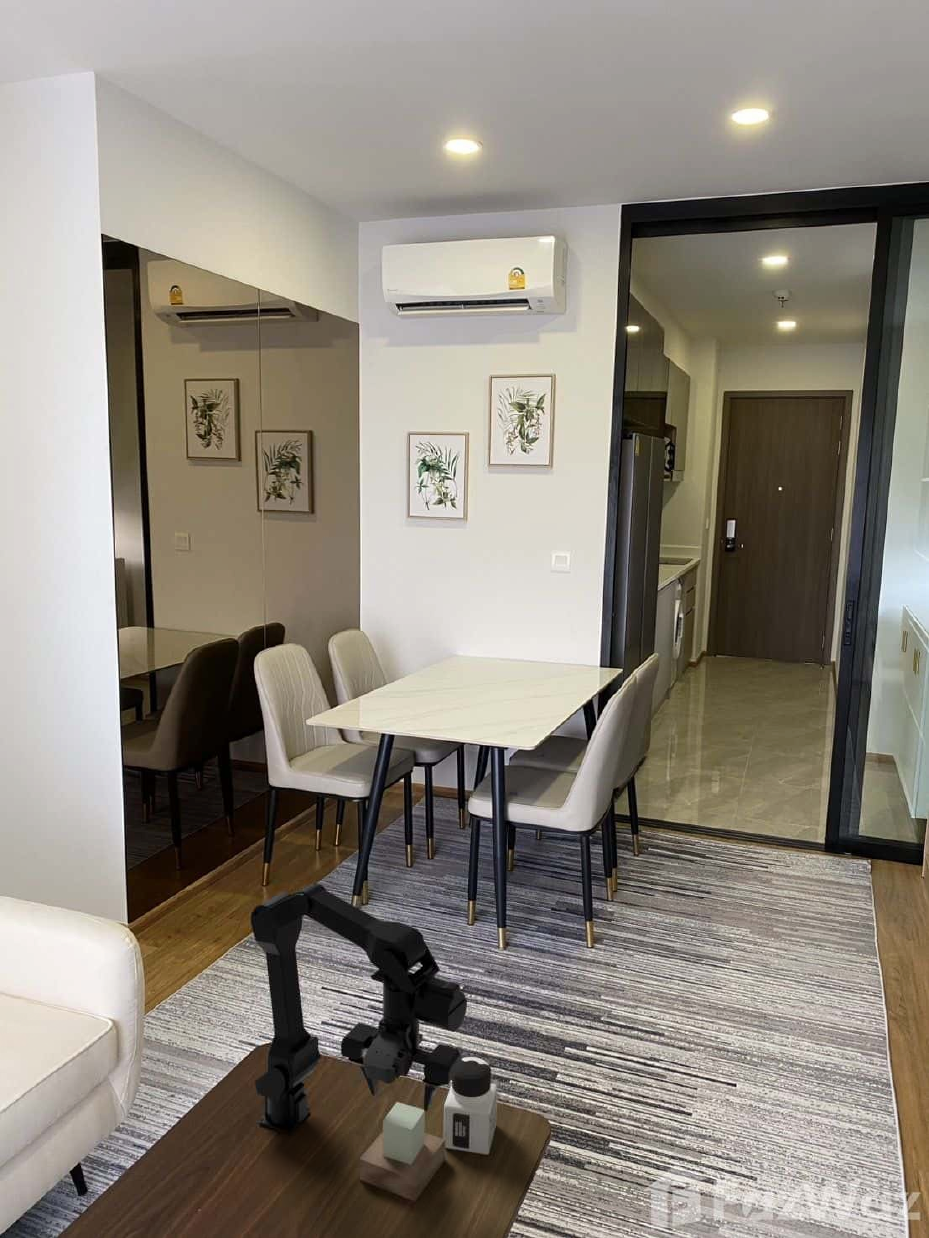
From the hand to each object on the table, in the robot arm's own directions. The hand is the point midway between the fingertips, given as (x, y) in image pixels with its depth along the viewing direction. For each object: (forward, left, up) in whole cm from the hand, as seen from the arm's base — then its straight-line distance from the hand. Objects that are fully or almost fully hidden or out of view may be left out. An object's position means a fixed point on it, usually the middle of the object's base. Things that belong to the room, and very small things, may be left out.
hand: (400, 1101), depth 146 cm
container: (+7, +12, -12) cm, 18 cm away
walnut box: (0, 0, -12) cm, 12 cm away
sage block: (0, 0, -8) cm, 8 cm away
